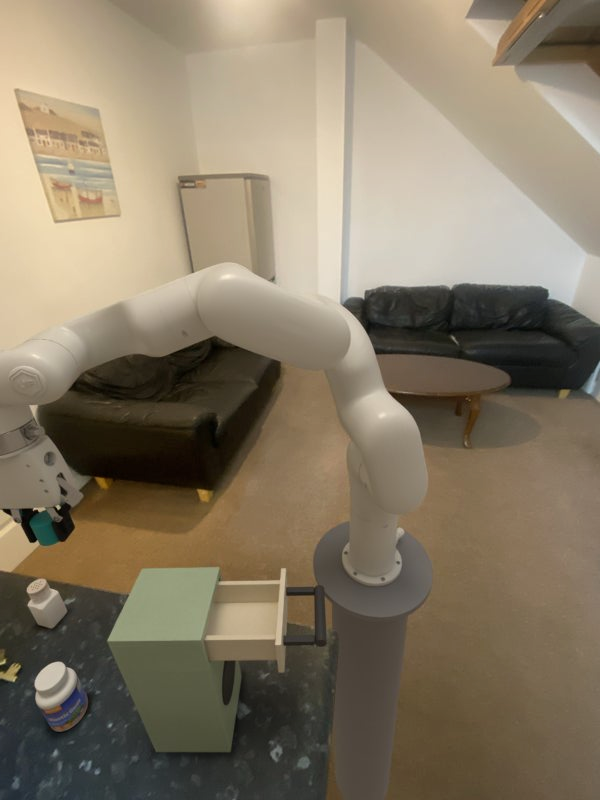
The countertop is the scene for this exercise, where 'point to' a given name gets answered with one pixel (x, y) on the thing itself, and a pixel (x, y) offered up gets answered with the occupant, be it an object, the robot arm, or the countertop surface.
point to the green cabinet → (176, 661)
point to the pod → (43, 528)
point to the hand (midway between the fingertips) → (53, 534)
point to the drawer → (259, 620)
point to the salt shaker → (45, 604)
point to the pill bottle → (60, 696)
